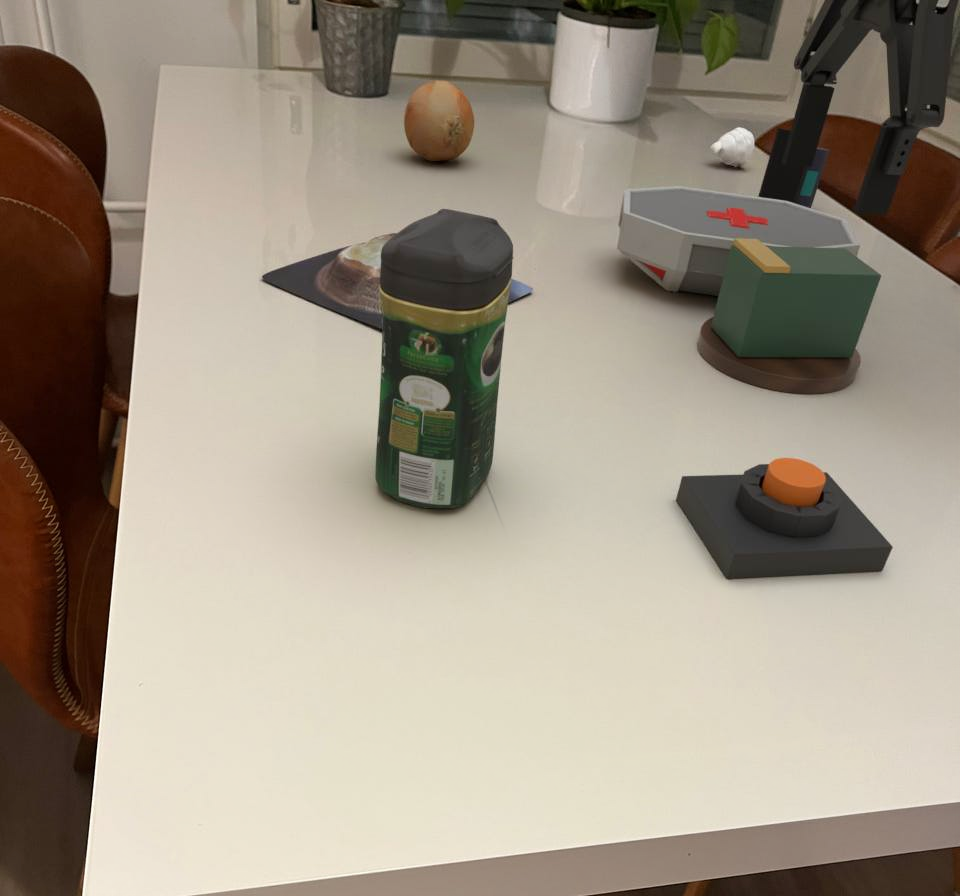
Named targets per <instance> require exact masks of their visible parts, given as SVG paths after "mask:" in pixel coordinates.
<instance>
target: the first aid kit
mask: <svg viewBox="0 0 960 896" xmlns="http://www.w3.org/2000/svg"><path fill="white" fill-rule="evenodd" d="M617 226H618V227H619V234H618V240H617V245H616V249H617V250H618V251H619V252H620V253H621V254H622V255H624V257H626V258H627V259H628V260H630V261H631V262H632V263H633V264H635V266H637V267H638V268H639V269H640V270H641V271H642V272H644V273H645V274H646V275H647V276H649V277H650V278H651V279H652V280H653V281H655V282H656V283H657V284H658V285H659V286H660V287H662V288H663V289H664V290H665V291H666V290H667V291H666V292H670V291H673V292H672V293H678V292H679V291H680V292H685V293H694V294H701V295H708V296H715V297H718V296H719V292H720V289H721V285H722V281H723V277H724V273H725V269H726V265H727V261H728V257H729V253H730V249H731V246H732V245H733V243H734V239H735V238H743V239H758V240H759V241H761V242H762V243H763V244H764V245H765V246H779V247H815V248H845V249H847V250H848V251H849V252H851V253H852V254H854V255H855V256H856V257H858V254H859V251H860V248H861V244H860V242H859V240H858V238H857V236H856V234H855V233H854V231H853V229H852V226H851V225H850V222H849V221H848V219H846V218H842V217H839V216H836V215H832V214H830V213H827V212H823V211H821V210H817V209H814V208H812V207H811V208H808V207H804V206H801V205H798V204H795V203H792V202H789V201H784V200H777V199H769V198H762V197H758V196H755V195H746V194H741V193H740V194H739V193H732V192H725V191H719V190H717V191H716V190H709V189H703V188H695V187H688V186H681V185H675V186H657V187H656V186H655V187H642V188H640V187H639V188H625V189H624V191H623V195H622V202H621V207H620V211H619V218H618V223H617Z"/></svg>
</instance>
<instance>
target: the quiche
mask: <svg viewBox="0 0 960 896" xmlns="http://www.w3.org/2000/svg"><path fill="white" fill-rule="evenodd" d="M397 233H398V232H393V233H392V232H391V233H388V234H383V235H379V236H375V237H373V238H371V239H370V240H368V241H366V242H362V243H357V244H352V245H348V246H344V247H341V248H337V249H334V250H331V251H328V252H325V253H321V254H318V255H315V256H311V257H308V258H305V259H302V260H300V261H296V262H293V263H291V264H287V265H284V266H282V267H279V268H276V269H273V270H271V271H267V272H266V273H264V274H262V276H261V278H262V280H264V281H266V282H267V283H269V284H272V285H274V286H276V287H278V288H280V289H283V290H284V291H287V292H290V293H292V294H294V295H296V296H299V297H301V298H302V299H305V300H308V301H311V302H313V303H314V304H318V305H320V306H322V307H325V308H327V309H329V310H332V311H334V312H337V313H339V314H342V315H345V316H347V317H349V318H352V319H354V320H357V321H359V322H361V323H365V324H367V325H370V326H372V327H375V328H377V329H380V330H382V311H381V302H380V294H379V285H380V269H381V250H382V247H383V246H384V244H385V243H386V242H388V241H389V240H390V239H391V238H392V237H393V236H394V235H396V234H397ZM533 291H534V288H533V287H532V286H530V285H528V284H526V283H523V282H521V281H518V280H516V279H514V278H511V285H510V293H509V299H508V304H509V303H512V302H513V301H516V300H518V299H520V298H521V297H523V296H526V295H528V294H530V293H531V292H533Z"/></svg>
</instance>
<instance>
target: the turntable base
mask: <svg viewBox="0 0 960 896" xmlns="http://www.w3.org/2000/svg"><path fill="white" fill-rule="evenodd" d="M712 320H713V316H712V317H710V318H708V319H707V320H706V321H704V322H703V323H702V324H701V327H700V332H699V335H698V339H697V344H696V345H697V350H698V352H699V355H701V357H702V358H703V359H704V360H705V362H706V363H708V364H709V365H710V366H712V367H713V368H715V369H716V370H717V371H719V372H721V373H723V374H724V375H727V376H729V377H731V378H733V379H736V380H738V381H740V382H743V383H746V384H748V385H752V386H755V387H759V388H763V389H767V390H770V391H771V390H772V391H775V392H776V391H777V392H782V393H789V394H801V395H818V394H819V395H820V394H829V393H834V392H837V391H841V390H843V389H845V388H847V387H849V386H850V385H851V384H853V382H854V381H855V379H856V377H857V374H858V371H859V368H860V366H861V363H862V360H861V354H860V352H859V350H858V349H857V347H856V348H855V351H854V354H853V357H852V358H798V357H738V356H737V355H736V354H735V353H734V352H733V351H732V350H731V349H730V348H729V346H728V345H727V344H726V343H725V342H724V341H723V340H722V339H721V338H720V337H719V335H718V334H717V333H716V332H715V331H714V330H713V329H712V328H711V324H712Z"/></svg>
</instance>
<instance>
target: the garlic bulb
mask: <svg viewBox="0 0 960 896" xmlns="http://www.w3.org/2000/svg"><path fill="white" fill-rule="evenodd" d="M717 140H718V141H716V142H714V143H713V144H712V145H711V146H710V152H711V153H712V154H713V155H714V156H716V157H719V158H720V159H721V160H722V162H723V163H724V165H726V166H729V165H731V166H734V167H733V168H737V167H739V166H740V168H743V167H745V166H746V165H748V162H749V161H750V160H751V158H752V156H753V154H754V151H755V138H754V135H753V133H752V132H751V131H750V130H748V129H746V128H744V127H736V128H734V129H732V130H731V131H728V132H726V133H725V134H723V135H722V136H720V138H719V139H717ZM737 165H738V166H737ZM731 166H730V167H731Z"/></svg>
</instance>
